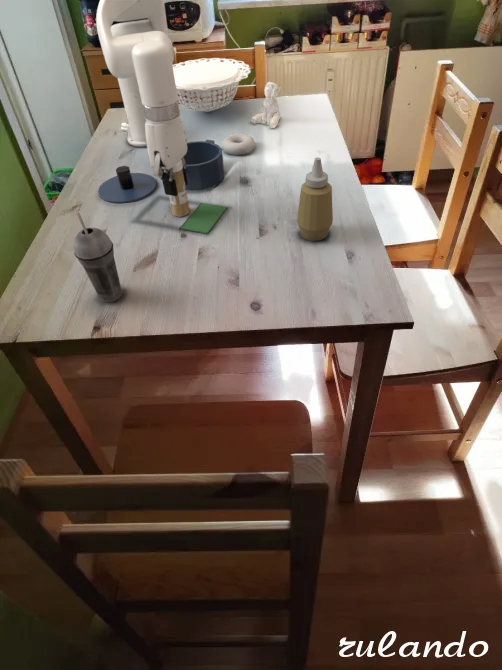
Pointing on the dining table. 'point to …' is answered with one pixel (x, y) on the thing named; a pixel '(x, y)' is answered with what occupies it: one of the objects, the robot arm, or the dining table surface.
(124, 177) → the lid
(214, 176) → the pot
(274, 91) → the seated beast figurine
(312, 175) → the squeeze bottle
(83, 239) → the beverage cup
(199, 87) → the white wicker basket
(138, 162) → the dining table surface
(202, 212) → the green flat rectangular board
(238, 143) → the donut
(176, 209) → the sprinkles bottle
